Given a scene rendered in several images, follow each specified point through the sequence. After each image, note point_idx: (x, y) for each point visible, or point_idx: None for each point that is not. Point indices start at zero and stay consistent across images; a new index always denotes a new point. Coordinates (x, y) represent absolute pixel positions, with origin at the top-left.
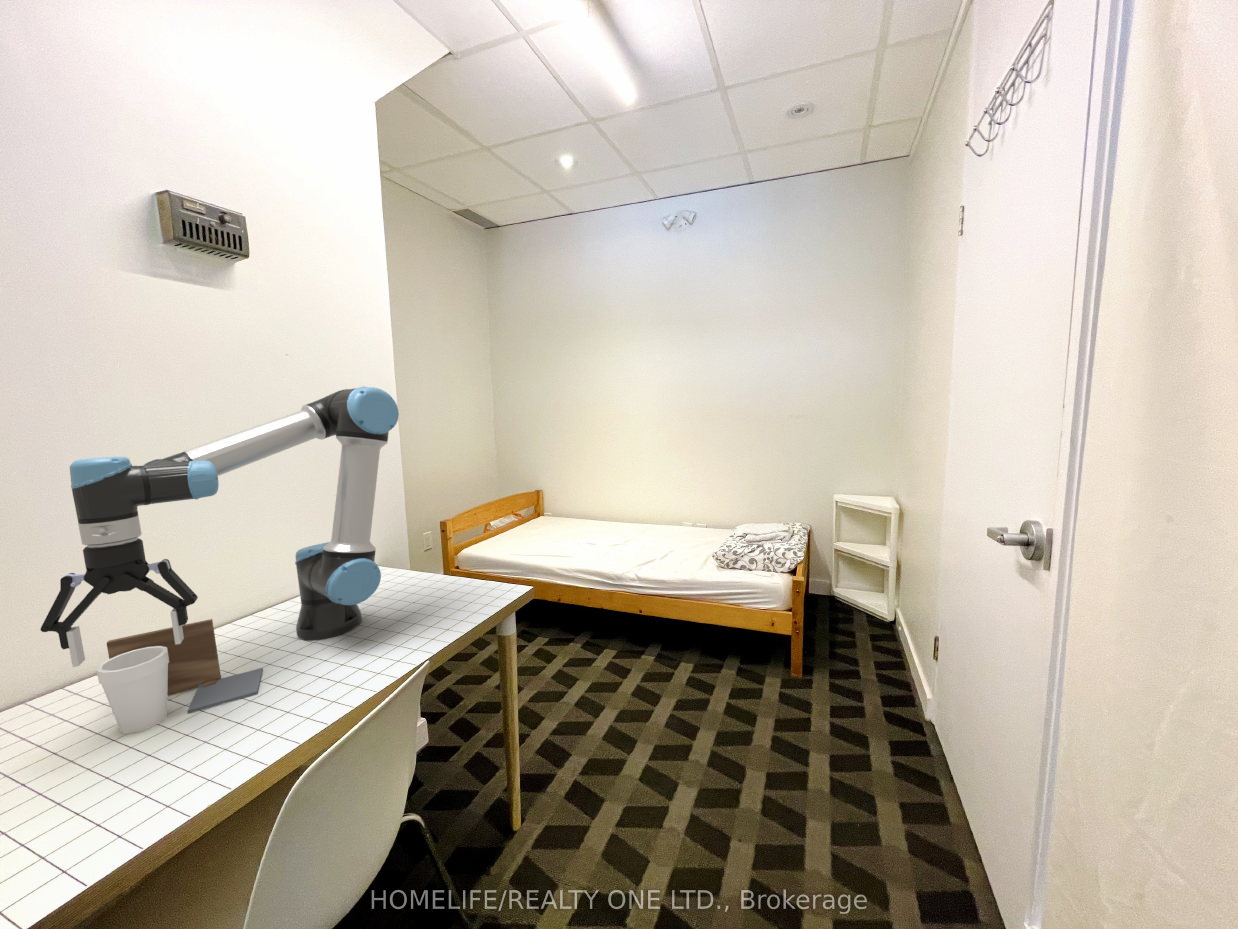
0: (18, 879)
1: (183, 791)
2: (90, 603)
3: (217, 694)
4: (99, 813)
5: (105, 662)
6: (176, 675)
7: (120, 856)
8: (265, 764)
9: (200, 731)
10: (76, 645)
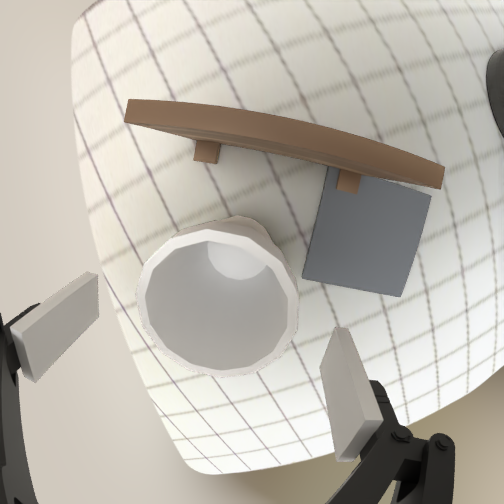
0: (178, 445)
1: (279, 440)
2: (23, 467)
3: (352, 252)
4: (214, 422)
5: (146, 276)
6: (296, 156)
7: (237, 467)
8: None
9: (310, 350)
10: (64, 341)
